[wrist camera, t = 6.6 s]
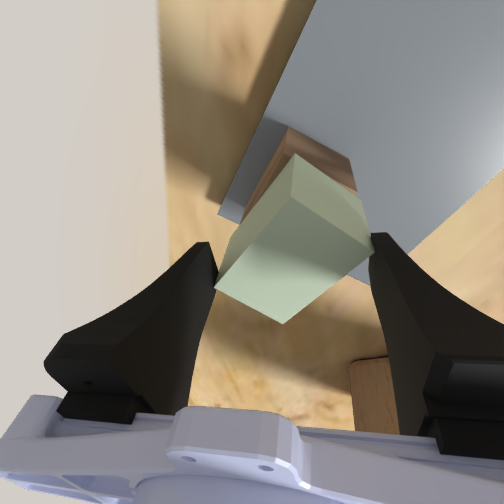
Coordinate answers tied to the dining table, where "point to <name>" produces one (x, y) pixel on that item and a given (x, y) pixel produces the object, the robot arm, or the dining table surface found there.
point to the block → (373, 396)
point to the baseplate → (393, 108)
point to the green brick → (295, 243)
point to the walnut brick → (312, 153)
